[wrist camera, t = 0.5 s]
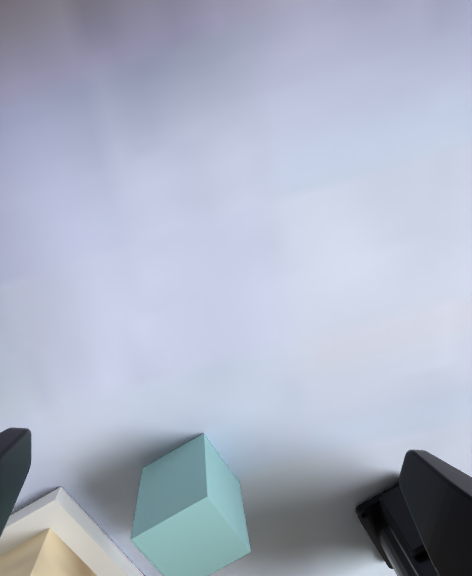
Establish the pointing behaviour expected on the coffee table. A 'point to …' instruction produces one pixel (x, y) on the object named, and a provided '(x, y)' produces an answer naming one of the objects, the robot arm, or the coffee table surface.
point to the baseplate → (67, 533)
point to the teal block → (190, 512)
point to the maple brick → (43, 558)
